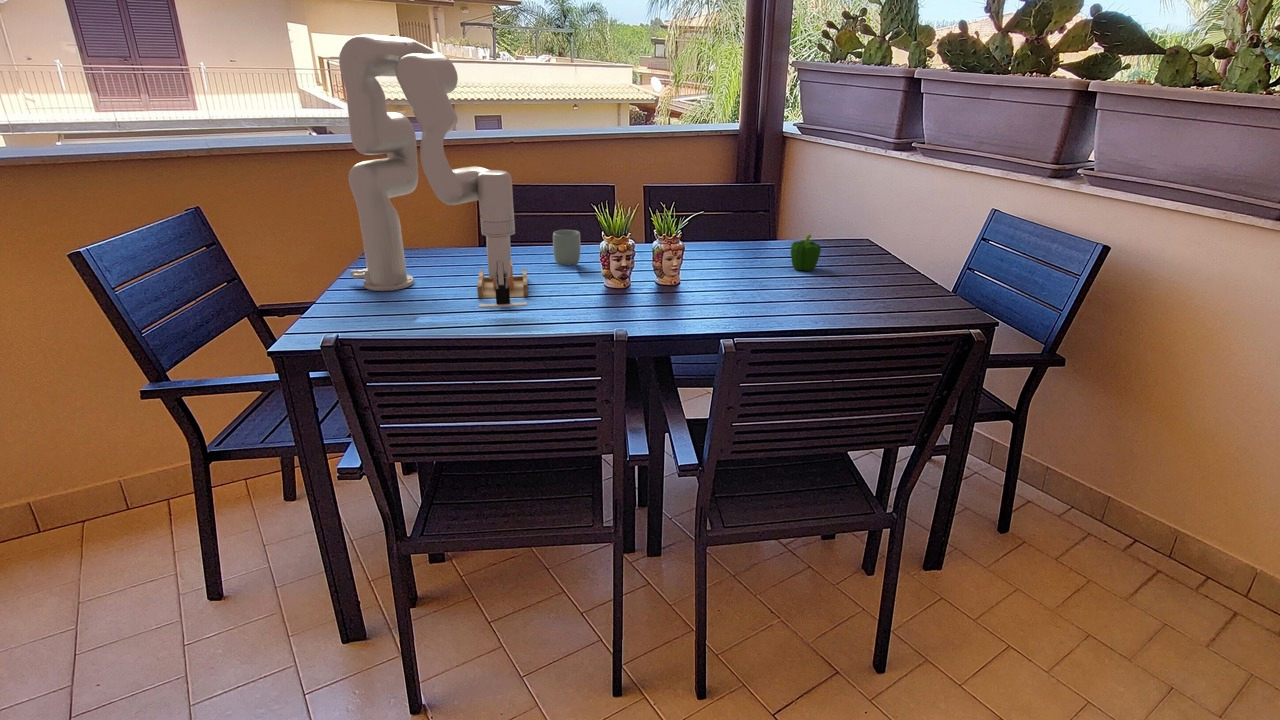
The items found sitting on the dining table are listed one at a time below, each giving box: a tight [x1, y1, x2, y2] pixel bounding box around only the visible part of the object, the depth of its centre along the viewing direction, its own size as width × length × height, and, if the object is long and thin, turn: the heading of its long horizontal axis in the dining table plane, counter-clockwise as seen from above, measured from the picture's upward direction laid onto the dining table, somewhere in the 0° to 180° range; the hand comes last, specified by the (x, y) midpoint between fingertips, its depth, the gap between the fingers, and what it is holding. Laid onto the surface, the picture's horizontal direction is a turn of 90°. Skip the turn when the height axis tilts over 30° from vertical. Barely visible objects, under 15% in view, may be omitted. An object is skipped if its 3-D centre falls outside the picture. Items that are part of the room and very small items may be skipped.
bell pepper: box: [790, 233, 821, 272], centre depth 192 cm, size 8×8×10 cm
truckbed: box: [476, 268, 529, 299], centre depth 167 cm, size 15×12×4 cm
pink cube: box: [493, 260, 514, 290], centre depth 167 cm, size 5×5×6 cm
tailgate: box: [478, 301, 527, 308], centre depth 157 cm, size 1×11×6 cm
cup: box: [552, 229, 581, 267], centre depth 190 cm, size 8×8×10 cm
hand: (503, 303), depth 157 cm, fingers closed
